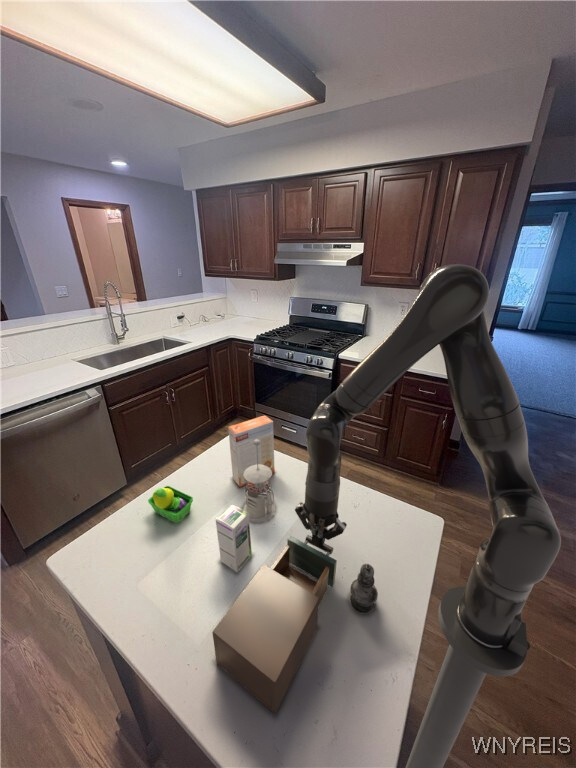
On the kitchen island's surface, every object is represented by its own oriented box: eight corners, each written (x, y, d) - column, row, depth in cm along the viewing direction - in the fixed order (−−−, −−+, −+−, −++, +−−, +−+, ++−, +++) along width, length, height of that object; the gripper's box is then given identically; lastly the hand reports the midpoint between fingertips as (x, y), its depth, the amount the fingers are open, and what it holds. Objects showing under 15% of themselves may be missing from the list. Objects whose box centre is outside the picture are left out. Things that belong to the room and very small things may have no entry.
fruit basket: (196, 510, 94) (192, 480, 90) (173, 532, 87) (168, 500, 82) (169, 497, 99) (163, 468, 94) (145, 516, 92) (138, 486, 87)
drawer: (298, 544, 82) (299, 522, 79) (342, 568, 76) (344, 545, 73) (254, 608, 67) (253, 584, 64) (304, 644, 62) (305, 619, 58)
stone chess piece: (344, 593, 72) (348, 556, 67) (366, 585, 74) (372, 548, 69) (357, 619, 67) (363, 581, 62) (381, 610, 68) (388, 572, 64)
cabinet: (264, 592, 72) (263, 563, 68) (317, 627, 65) (319, 597, 61) (216, 662, 59) (212, 631, 56) (275, 714, 53) (275, 683, 49)
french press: (263, 493, 101) (262, 426, 91) (285, 515, 93) (286, 445, 83) (236, 507, 95) (232, 437, 86) (257, 532, 87) (254, 458, 77)
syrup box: (237, 573, 76) (234, 529, 70) (219, 561, 79) (215, 518, 73) (252, 555, 80) (250, 513, 75) (234, 545, 83) (231, 503, 78)
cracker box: (266, 464, 115) (265, 414, 107) (275, 472, 111) (274, 421, 102) (231, 478, 108) (227, 425, 100) (239, 488, 103) (235, 433, 95)
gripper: (356, 489, 69) (349, 545, 76) (304, 469, 75) (301, 522, 82) (343, 511, 63) (336, 570, 70) (288, 487, 70) (286, 542, 76)
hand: (317, 544), depth 76 cm, fingers closed
